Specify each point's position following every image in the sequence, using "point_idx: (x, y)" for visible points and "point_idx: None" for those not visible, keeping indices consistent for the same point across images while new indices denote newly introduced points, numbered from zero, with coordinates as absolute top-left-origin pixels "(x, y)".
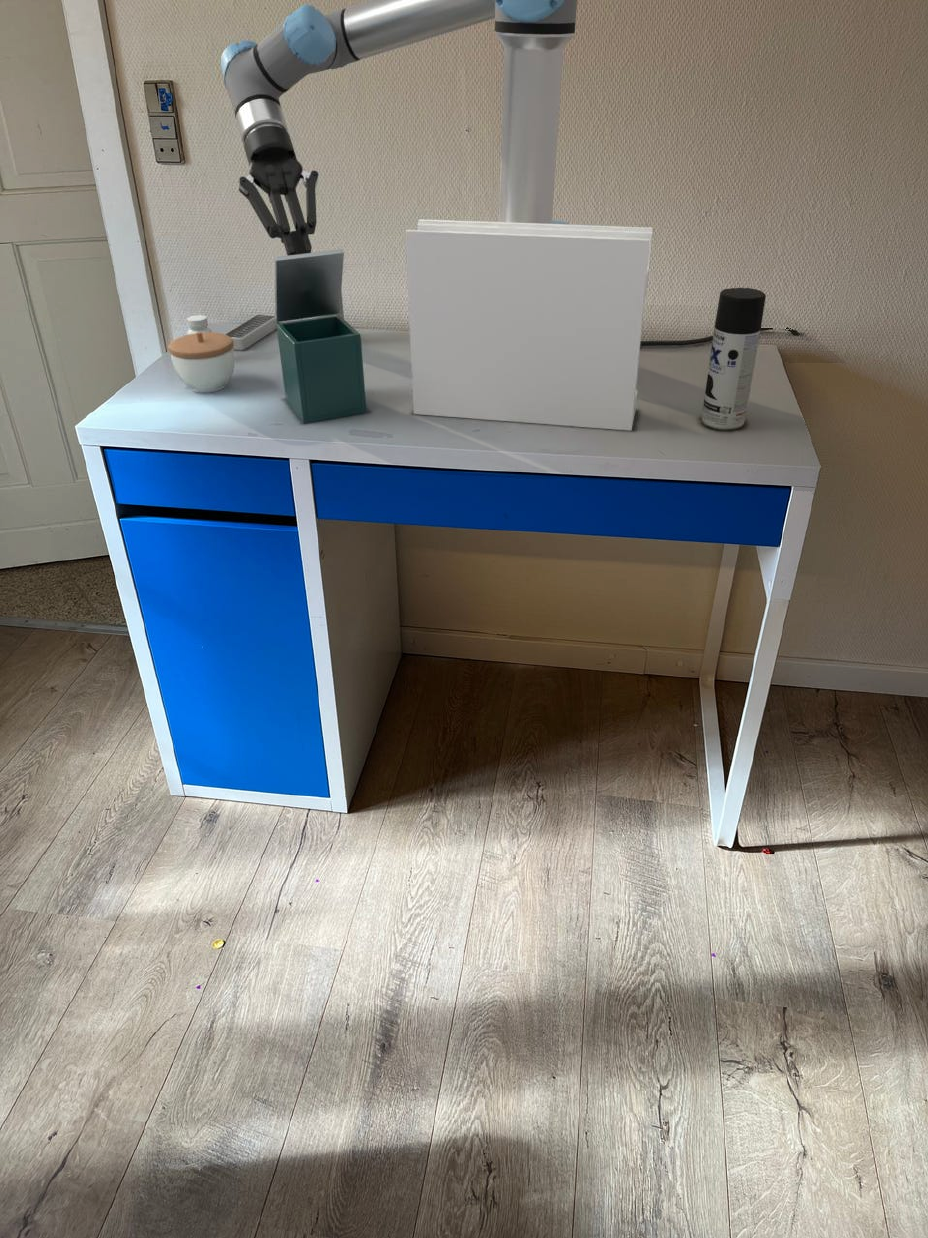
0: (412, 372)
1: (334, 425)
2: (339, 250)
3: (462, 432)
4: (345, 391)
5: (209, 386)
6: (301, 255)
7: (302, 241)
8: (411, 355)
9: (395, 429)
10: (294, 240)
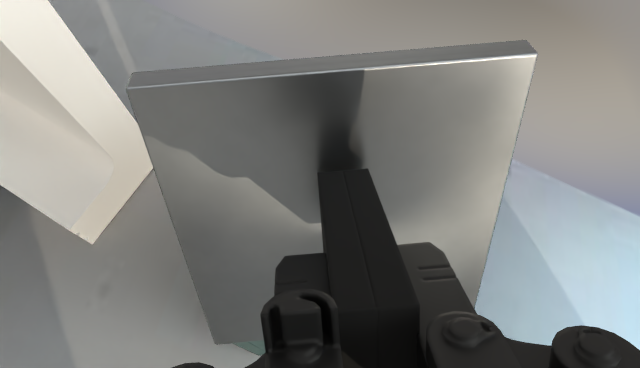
0: (127, 111)
1: None
2: (148, 82)
3: (114, 53)
4: None
5: None
6: (380, 59)
7: (337, 251)
8: (110, 87)
9: None
10: (397, 256)
